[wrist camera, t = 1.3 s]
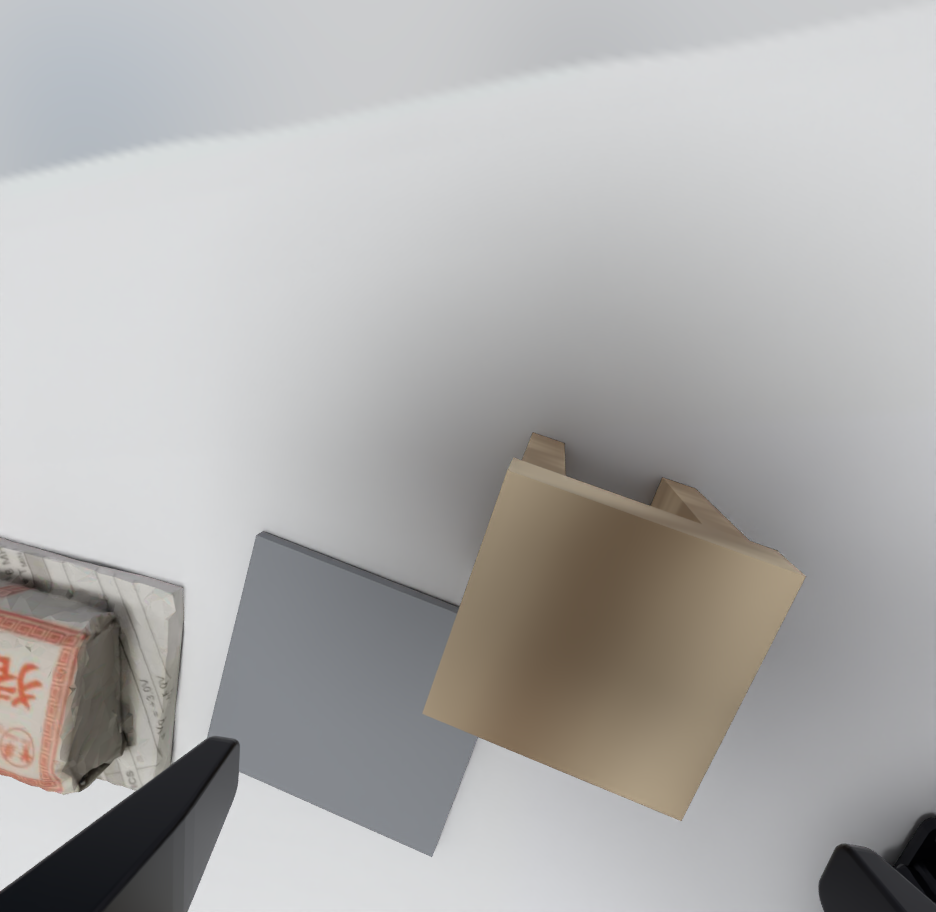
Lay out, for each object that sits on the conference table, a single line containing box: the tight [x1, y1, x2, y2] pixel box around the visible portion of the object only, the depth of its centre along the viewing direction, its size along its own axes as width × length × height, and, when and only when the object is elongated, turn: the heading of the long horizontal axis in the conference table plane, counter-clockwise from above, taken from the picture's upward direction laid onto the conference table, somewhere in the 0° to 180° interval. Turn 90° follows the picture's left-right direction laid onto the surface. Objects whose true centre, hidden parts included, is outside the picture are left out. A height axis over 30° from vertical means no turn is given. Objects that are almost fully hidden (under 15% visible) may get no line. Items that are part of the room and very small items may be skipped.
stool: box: [422, 433, 806, 821], centre depth 16 cm, size 6×6×8 cm
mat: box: [207, 531, 478, 857], centre depth 22 cm, size 11×11×1 cm
